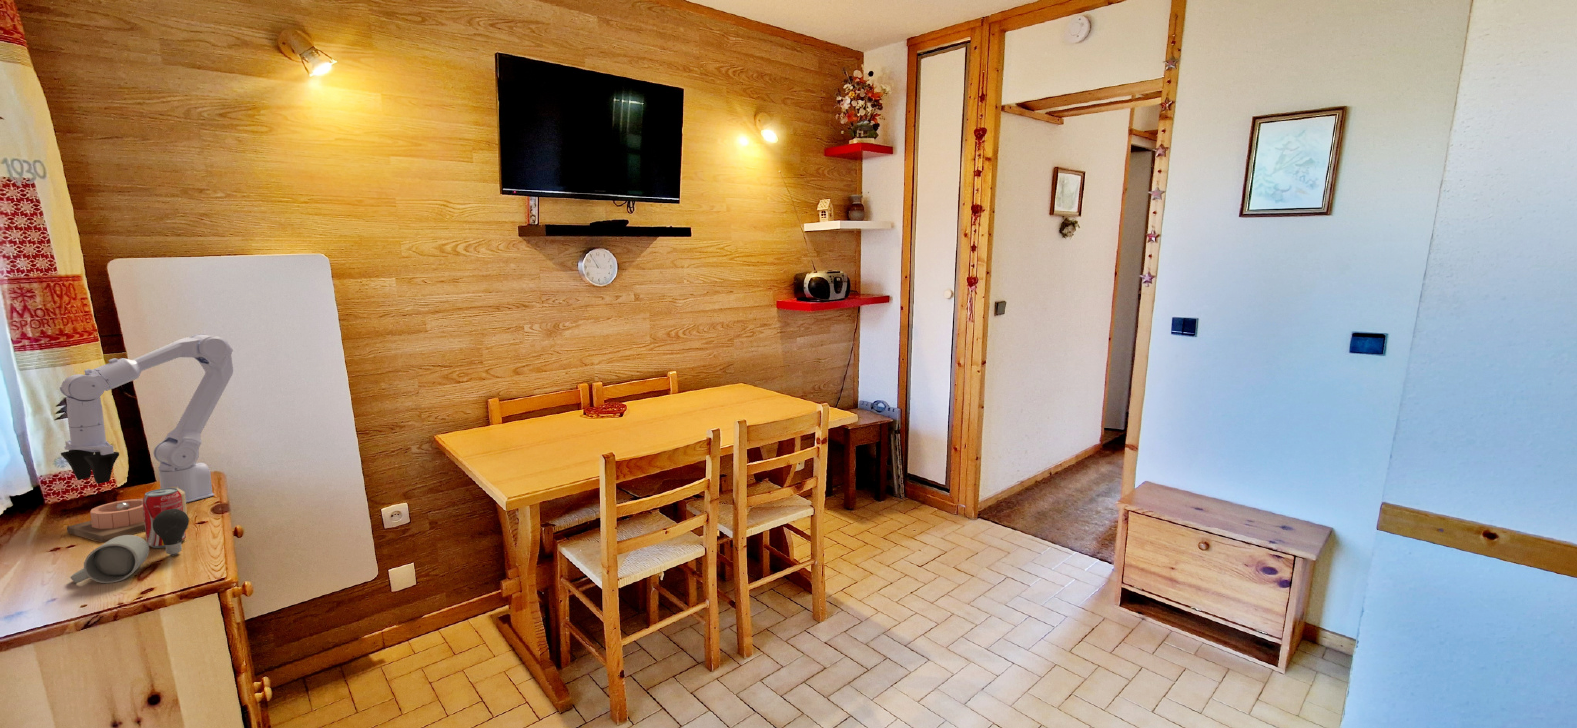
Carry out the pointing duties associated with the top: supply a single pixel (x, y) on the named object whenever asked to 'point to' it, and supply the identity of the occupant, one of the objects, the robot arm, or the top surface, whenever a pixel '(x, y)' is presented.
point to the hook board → (103, 531)
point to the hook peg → (122, 506)
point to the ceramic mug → (114, 560)
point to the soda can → (159, 511)
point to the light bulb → (171, 529)
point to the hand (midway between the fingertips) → (93, 480)
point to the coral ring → (117, 514)
